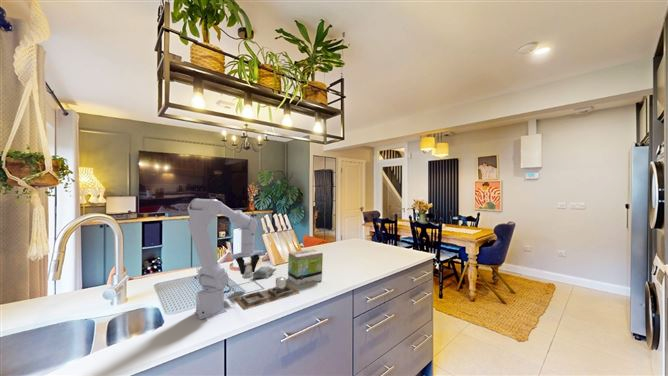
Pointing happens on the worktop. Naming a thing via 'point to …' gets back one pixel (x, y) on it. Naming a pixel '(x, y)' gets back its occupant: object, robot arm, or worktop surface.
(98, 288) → the worktop surface
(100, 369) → the worktop surface
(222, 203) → the robot arm
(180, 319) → the worktop surface
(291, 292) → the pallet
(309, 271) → the tea box
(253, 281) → the tray
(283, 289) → the disc
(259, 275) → the packaged food
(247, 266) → the loose billet
